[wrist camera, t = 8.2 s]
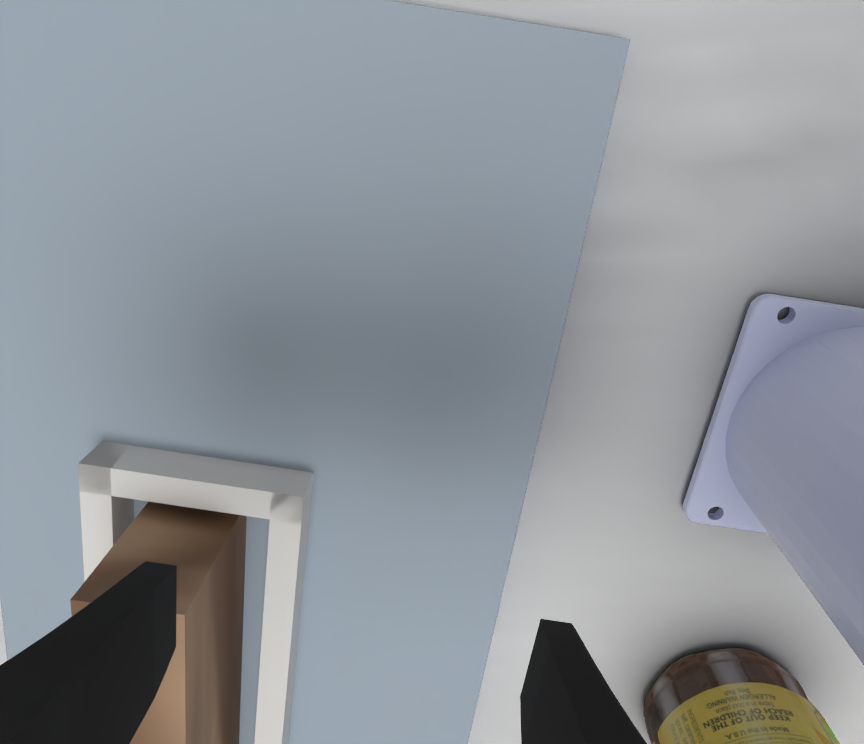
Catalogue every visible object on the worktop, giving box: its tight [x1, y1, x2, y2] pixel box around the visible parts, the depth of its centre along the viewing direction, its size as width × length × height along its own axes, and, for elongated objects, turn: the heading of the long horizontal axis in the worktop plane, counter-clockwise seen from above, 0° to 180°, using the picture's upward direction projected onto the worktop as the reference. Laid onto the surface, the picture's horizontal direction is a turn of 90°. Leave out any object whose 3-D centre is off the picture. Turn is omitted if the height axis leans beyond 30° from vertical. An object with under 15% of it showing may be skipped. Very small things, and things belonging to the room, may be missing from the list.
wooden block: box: [70, 502, 247, 744], centre depth 22 cm, size 3×12×6 cm, turn 173°
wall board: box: [0, 0, 630, 744], centre depth 22 cm, size 18×30×2 cm, turn 172°
